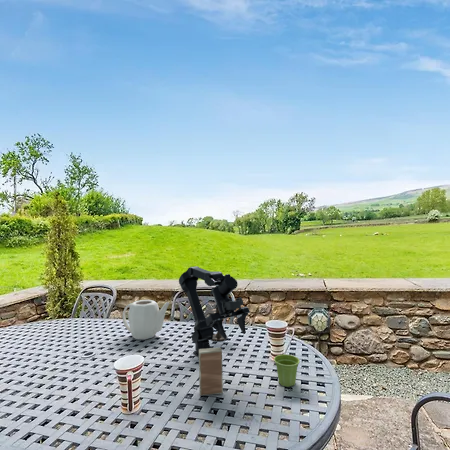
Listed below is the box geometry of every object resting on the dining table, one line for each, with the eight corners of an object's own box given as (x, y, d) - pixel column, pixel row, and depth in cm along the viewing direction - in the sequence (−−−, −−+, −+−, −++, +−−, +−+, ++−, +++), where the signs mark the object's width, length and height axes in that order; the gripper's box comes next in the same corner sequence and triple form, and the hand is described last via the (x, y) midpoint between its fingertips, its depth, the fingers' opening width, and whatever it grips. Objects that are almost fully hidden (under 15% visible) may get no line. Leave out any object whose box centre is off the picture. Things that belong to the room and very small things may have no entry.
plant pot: (301, 378, 118) (300, 355, 118) (298, 391, 109) (298, 366, 109) (276, 375, 121) (276, 353, 121) (272, 387, 112) (271, 363, 112)
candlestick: (227, 334, 169) (225, 270, 169) (230, 341, 158) (228, 272, 158) (207, 335, 167) (206, 270, 168) (209, 342, 157) (207, 273, 157)
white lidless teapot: (166, 342, 158) (165, 305, 158) (116, 341, 161) (116, 305, 162) (174, 332, 174) (173, 298, 174) (129, 331, 177) (128, 298, 177)
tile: (199, 391, 110) (198, 349, 111) (221, 388, 112) (220, 347, 112) (200, 396, 107) (199, 352, 107) (223, 393, 108) (222, 350, 108)
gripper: (211, 294, 119) (225, 334, 111) (249, 288, 129) (264, 324, 122) (200, 306, 126) (212, 344, 119) (236, 299, 137) (249, 333, 129)
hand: (235, 336), depth 122 cm, fingers open, 9 cm apart
